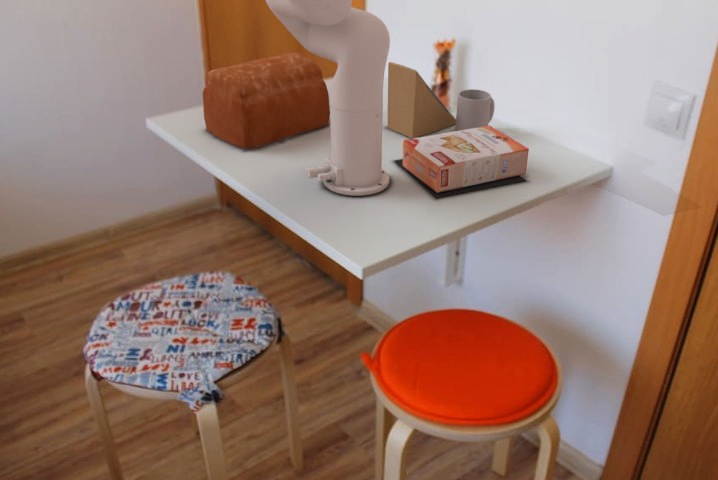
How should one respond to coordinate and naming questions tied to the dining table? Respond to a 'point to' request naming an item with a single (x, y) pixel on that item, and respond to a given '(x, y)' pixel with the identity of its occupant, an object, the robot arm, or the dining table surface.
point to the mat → (465, 189)
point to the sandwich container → (414, 104)
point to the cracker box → (464, 158)
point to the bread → (265, 100)
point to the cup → (473, 109)
